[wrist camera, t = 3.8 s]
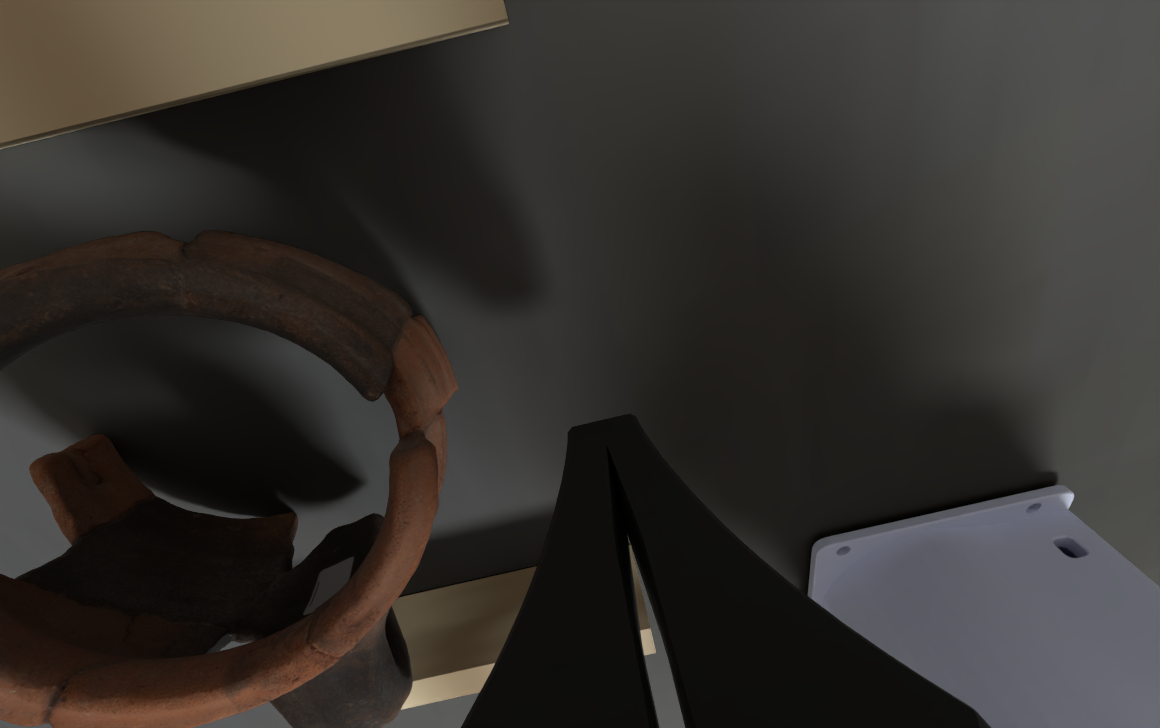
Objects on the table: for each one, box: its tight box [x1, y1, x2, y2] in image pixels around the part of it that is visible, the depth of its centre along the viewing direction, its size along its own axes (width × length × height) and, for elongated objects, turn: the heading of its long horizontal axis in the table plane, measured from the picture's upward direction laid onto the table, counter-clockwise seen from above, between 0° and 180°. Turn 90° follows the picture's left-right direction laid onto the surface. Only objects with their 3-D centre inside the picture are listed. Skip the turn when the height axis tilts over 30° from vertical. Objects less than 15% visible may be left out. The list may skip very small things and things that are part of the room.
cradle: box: [0, 0, 656, 709], centre depth 12 cm, size 11×18×3 cm, turn 11°
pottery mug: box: [0, 230, 458, 728], centre depth 11 cm, size 12×10×8 cm
